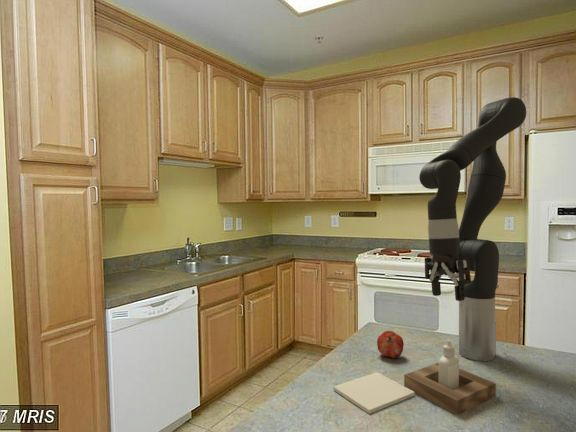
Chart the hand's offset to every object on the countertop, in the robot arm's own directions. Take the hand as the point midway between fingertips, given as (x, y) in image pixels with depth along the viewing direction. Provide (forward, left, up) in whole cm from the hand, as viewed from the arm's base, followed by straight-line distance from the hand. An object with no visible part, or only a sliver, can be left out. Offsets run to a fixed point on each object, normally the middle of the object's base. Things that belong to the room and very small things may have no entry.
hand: (447, 297), depth 100 cm
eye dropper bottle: (+11, +8, -19) cm, 23 cm away
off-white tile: (+26, -1, -19) cm, 32 cm away
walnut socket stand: (+11, +8, -19) cm, 23 cm away
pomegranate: (+7, -14, -19) cm, 24 cm away
